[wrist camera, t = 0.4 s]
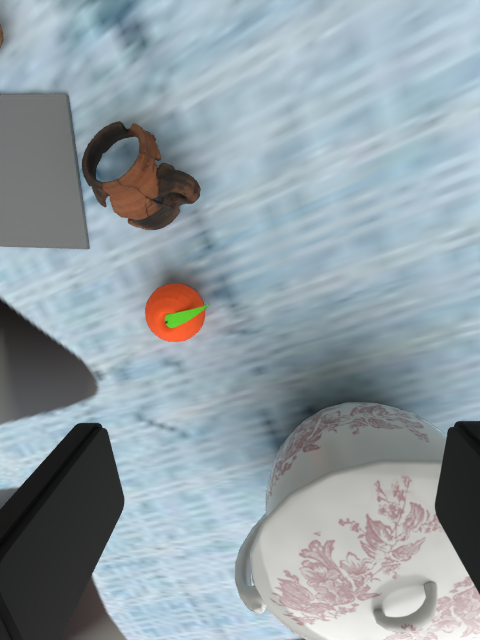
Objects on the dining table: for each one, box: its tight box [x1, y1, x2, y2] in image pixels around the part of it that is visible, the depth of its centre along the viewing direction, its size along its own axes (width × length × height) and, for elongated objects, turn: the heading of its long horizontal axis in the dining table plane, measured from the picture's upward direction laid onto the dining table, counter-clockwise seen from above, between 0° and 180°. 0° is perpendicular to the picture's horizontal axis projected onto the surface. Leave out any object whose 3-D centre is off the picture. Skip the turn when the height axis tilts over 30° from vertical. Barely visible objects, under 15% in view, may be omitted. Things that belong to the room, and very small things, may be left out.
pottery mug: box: [82, 122, 201, 230], centre depth 33 cm, size 12×10×8 cm
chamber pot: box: [235, 402, 480, 640], centre depth 35 cm, size 28×28×21 cm
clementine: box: [145, 283, 209, 342], centre depth 36 cm, size 8×7×7 cm
